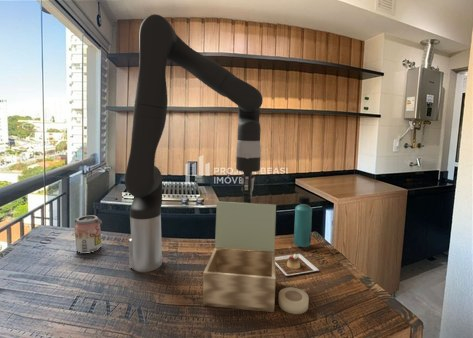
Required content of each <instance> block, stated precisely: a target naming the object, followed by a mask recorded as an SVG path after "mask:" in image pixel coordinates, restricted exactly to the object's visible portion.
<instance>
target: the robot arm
mask: <svg viewBox="0 0 473 338" xmlns="http://www.w3.org/2000/svg"><path fill="white" fill-rule="evenodd" d="M138 37H139V40H138V41H139V43H138V44H139V50H138V51H139V62H138V64H139V65H138V72H137V73H138V74H137V80H136V90H135V98H134V105H133V114H132V115H133V116H132V128H131V141H130V152H129V156H128V161H127V166H126V171H125V175H124V186H125V188H126V191H127V192H128V193H129V194H130V195H131V196H132V197H133V200H132V203H131V206H130V208H129V220H130V222H129V223H130V238H129V240H128V254H129V255H128V259H129V269H131V268H132V270H133V271H136V272H139V273H147V272H152V271H156V270H157V269H159V268H160V267H161V266H162V265H163V255H162V254H163V252H162V249H163V248H162V219H161V218H162V216H161V210H162V205H163V204H162V203H163V176H162V172H161V171H160V168H159V167H157V166H156V165H155V163H156V161H155V159H156V153H157V149H158V146H159V143H160V141H161V138H162V135H163V133H164V129H165V125H166V120H167V113H168V103H169V102H168V100H169V99H168V87H167V79H166V75H167V73H166V72H167V71H166V69H167V63H168V61H169V62H172V63H174V64H175V65H177V66H178V67H181V68H182V69H184V70H186V71H187V72H189V73H190V75H193V76H194V77H195V78H197V79H198V80H199V81H200V82H202V83H203V84H205V86H207V87H209V88H210V89H211V90H213V91H214V92H216V93H217V94H219V95H221V96H222V97H224V98H227V99H228V100H230V101H231V102H232V103H234V104H235V105H236V106H237V114H238V115H237V116H238V118H237V120H238V124H237V140H236V141H237V142H236V153H235V154H236V155H235V157H236V159H235V161H236V163H235V167H236V168H235V169H236V171H238V172H243V175H241V177H240V183H241V191H242V195H241V196H242V198H243V203H252V198H253V197H252V196H253V190H254V183H255V175H253V173H257V172H260V170H261V160H262V158H261V157H262V153H261V152H262V146H261V131H262V129H261V123H260V111H261V107H262V105H263V99H264V98H263V94H262V93H261V92H260V90H258V88H256V87H255V86H253V85H251V84H250V83H248V82H247V81H245V80H244V79H243V80H242V79H241V78H239V77H237V76H236V75H235V74H233V73H232V72H231V71H229V70H228V69H226V68H225V67H224V66H222V65H220V63H218V62H216V61H215V60H213V59H211V58H209V57H207V56H205V55H204V54H201V53H199V51H196V50H195V49H194V48H191V46H190V45H188V44H187V43H186V42H184V41H183V40H182V39H181V38H180V36H179V35H178V34H177V33H176V31H175V30H174V28H173V26H172V24H171V23H170V22H169V21H168V20H167V19H166V18H165V17H163V16H162V15H160V14H150V15H148V16H147V17H145V19H143V20H142V22H141V24H140V27H139V36H138Z"/></svg>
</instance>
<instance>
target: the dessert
mask: <svg viewBox="0 0 473 338" xmlns="http://www.w3.org/2000/svg"><path fill="white" fill-rule="evenodd" d="M287 259H288V260H287ZM280 260H287V262H286V267H288V268H289V269H292V270H297V269H300V268H301V264H300V260H301V261H303V262H304V264H306V265H307V266H308V267H309V269H310V268H311V270H308V271H307V270H306V271H302V272H297V273H290V274H288V273H287V272H286V271H285V270H284V269H283V268H282V267H281V266H280V265H279V264H278V263H277V262H276V261H280ZM275 267H277V268H278V269H279V271H281V272H282V274H283V275H285V276H286V277H291V276H294V275H301V274H307V273H308V274H309V273H313V272H319V271H320V269H319V268H318V267H316V266H315V265H314V264H313V263H312V262H310V261H309V260H308V259H307V258H306V257H304V256H303V255H302V253H294V254H287V255H281V256H275Z"/></svg>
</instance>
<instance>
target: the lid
mask: <svg viewBox="0 0 473 338" xmlns="http://www.w3.org/2000/svg"><path fill="white" fill-rule="evenodd" d="M276 213H277V204H274V203H273V204H272V203H252V202H251V203H244V202H234V201H233V202H232V201H216V213H215V233H214V234H215V240H214V249H215V248H216V249H229V250H243V251H257V252H271V253H275V247H276V246H275V245H276V244H275V242H276V221H277V220H276V217H277V215H276Z"/></svg>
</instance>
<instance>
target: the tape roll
mask: <svg viewBox="0 0 473 338" xmlns="http://www.w3.org/2000/svg"><path fill="white" fill-rule="evenodd" d="M309 299H310V298H309V295H308V294H307V292H305V291H304V290H302V289H300V288H297V287H290V286H289V287H285V288H284V287H283V288H282V289H281V290H280V291H279V292H278V306H279V308H280V309H281V310H283V311H284V312H286V313H289V314H292V315H301V314H304V313H306V312H307V311H308V309H309Z"/></svg>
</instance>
